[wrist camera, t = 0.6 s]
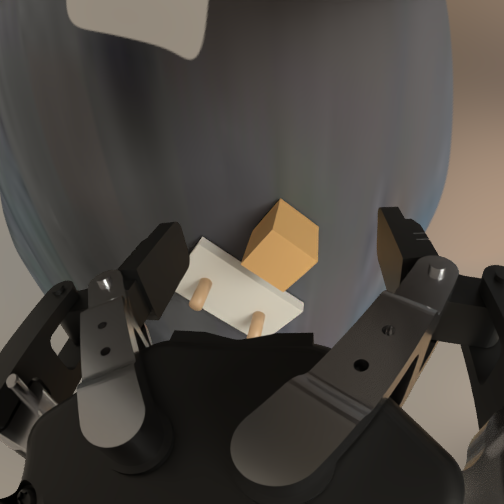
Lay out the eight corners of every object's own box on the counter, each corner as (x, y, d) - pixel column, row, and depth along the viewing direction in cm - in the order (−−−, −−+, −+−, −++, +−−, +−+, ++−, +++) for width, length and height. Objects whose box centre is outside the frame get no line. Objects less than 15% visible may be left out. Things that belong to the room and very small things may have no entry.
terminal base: (202, 236, 35) (185, 265, 31) (303, 303, 38) (300, 336, 34) (172, 279, 40) (156, 308, 36) (262, 334, 43) (255, 365, 39)
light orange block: (280, 198, 30) (272, 229, 26) (318, 226, 31) (317, 261, 27) (252, 230, 33) (240, 264, 28) (289, 255, 34) (283, 292, 29)
